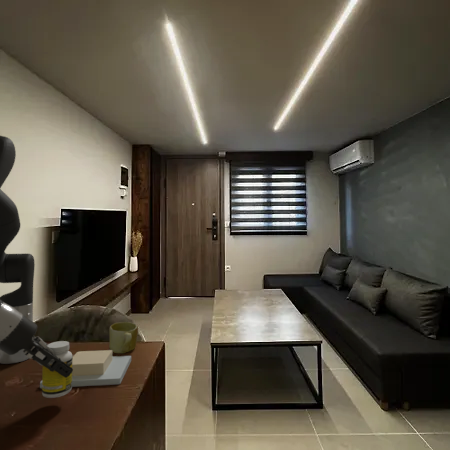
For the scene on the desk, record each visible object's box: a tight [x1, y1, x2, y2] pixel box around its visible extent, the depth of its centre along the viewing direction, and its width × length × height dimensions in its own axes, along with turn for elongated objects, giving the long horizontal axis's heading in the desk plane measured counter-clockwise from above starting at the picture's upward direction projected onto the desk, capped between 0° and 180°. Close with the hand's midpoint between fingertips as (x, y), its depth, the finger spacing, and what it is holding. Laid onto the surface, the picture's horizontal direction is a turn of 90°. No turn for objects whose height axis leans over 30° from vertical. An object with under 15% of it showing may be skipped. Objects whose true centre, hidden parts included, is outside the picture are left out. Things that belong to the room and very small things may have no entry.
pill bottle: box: [41, 340, 73, 399], centre depth 75 cm, size 6×6×11 cm
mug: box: [108, 321, 139, 354], centre depth 110 cm, size 12×10×10 cm
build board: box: [39, 349, 132, 389], centre depth 92 cm, size 20×16×4 cm
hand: (65, 368), depth 76 cm, fingers closed on pill bottle, 6 cm apart
